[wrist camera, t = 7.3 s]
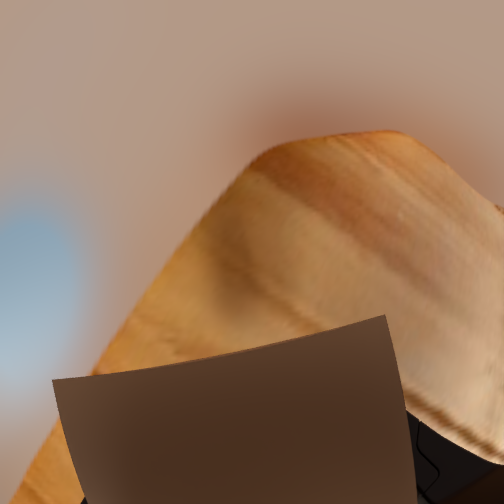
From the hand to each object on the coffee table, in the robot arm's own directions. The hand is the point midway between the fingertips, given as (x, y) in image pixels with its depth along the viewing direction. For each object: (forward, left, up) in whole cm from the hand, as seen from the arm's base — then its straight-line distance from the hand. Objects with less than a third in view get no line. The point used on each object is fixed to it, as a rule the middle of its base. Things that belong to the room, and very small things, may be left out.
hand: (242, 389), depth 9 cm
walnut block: (-1, +1, -7) cm, 7 cm away
